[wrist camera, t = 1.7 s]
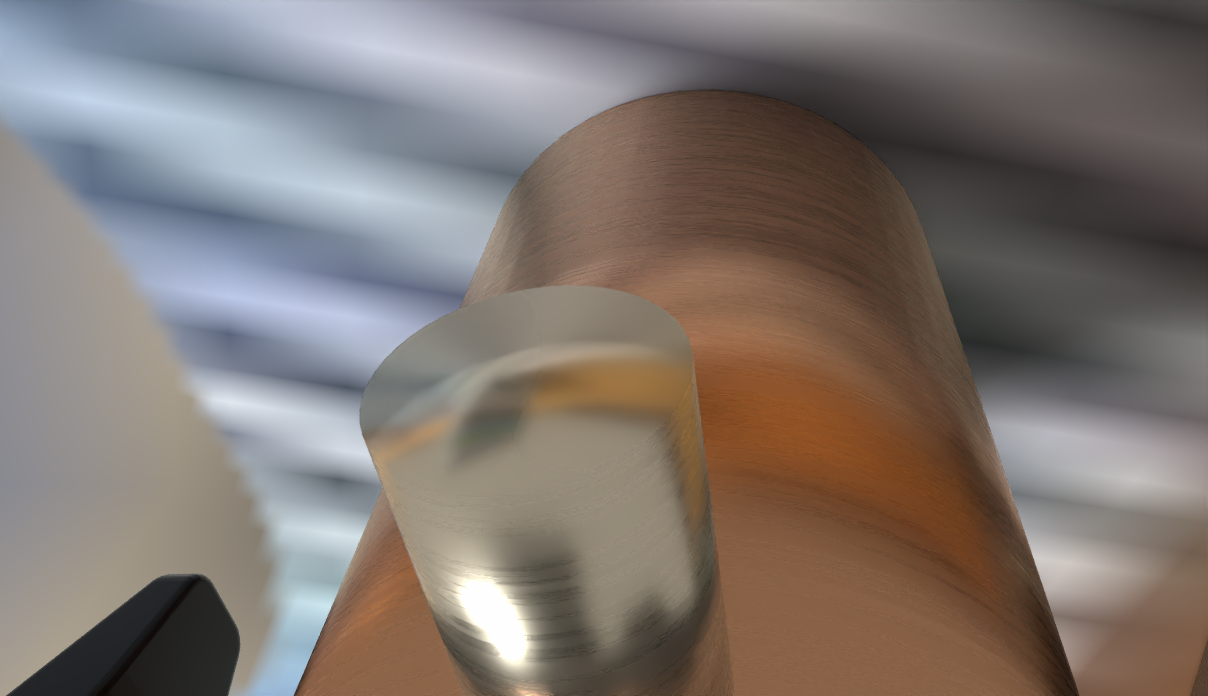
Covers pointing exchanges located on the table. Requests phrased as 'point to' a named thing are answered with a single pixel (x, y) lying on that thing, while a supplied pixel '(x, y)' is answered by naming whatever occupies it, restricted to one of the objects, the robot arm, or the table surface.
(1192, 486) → the table surface
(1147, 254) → the table surface
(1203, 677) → the gearbox housing
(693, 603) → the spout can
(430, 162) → the table surface
